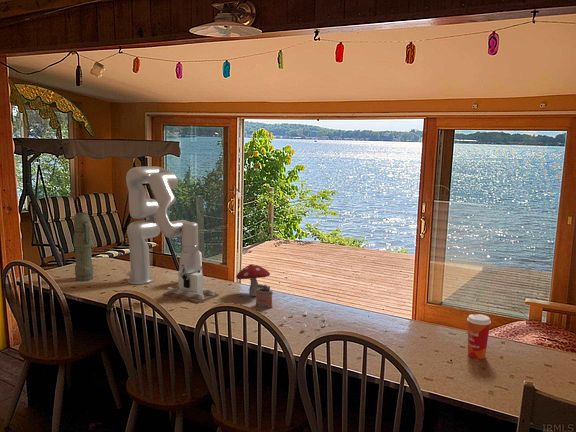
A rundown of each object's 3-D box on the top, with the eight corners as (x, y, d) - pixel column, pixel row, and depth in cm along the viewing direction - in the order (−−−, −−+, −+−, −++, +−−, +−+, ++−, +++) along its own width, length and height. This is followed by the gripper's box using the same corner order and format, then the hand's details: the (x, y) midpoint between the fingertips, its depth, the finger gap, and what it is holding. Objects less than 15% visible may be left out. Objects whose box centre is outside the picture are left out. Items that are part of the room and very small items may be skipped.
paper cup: (461, 351, 177) (463, 313, 175) (481, 351, 177) (484, 313, 175) (470, 361, 169) (473, 321, 167) (492, 360, 170) (495, 321, 167)
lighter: (273, 306, 222) (273, 285, 221) (270, 309, 219) (270, 287, 218) (257, 304, 226) (257, 282, 224) (254, 306, 222) (254, 284, 221)
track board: (163, 295, 237) (163, 288, 237) (184, 288, 249) (184, 282, 248) (198, 303, 226) (198, 296, 225) (218, 295, 237) (218, 289, 237)
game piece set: (321, 335, 191) (321, 325, 190) (272, 328, 198) (272, 318, 197) (334, 318, 209) (334, 310, 208) (289, 312, 216) (289, 304, 215)
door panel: (178, 292, 238) (178, 271, 237) (185, 290, 242) (184, 269, 241) (197, 296, 232) (197, 275, 231) (203, 294, 236) (203, 273, 234)
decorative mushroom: (231, 298, 233) (231, 267, 231) (243, 289, 249) (243, 259, 246) (263, 301, 229) (263, 269, 227) (273, 291, 244) (274, 262, 242)
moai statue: (85, 275, 270) (83, 211, 265) (98, 278, 263) (95, 213, 258) (70, 278, 263) (67, 212, 258) (83, 282, 256) (79, 215, 251)
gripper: (196, 244, 243) (197, 280, 246) (171, 250, 229) (172, 289, 231) (208, 246, 239) (208, 283, 242) (183, 252, 225) (183, 291, 227)
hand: (190, 285), depth 237 cm, fingers open, 5 cm apart
